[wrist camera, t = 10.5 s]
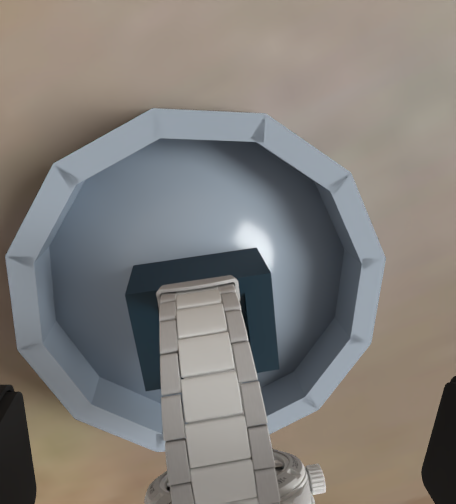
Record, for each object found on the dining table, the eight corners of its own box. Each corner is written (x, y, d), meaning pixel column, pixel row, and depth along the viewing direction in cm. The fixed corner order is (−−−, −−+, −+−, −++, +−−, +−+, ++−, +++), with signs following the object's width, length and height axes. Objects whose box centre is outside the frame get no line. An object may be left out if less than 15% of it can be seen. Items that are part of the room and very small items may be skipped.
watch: (157, 384, 21) (136, 662, 10) (125, 227, 18) (54, 388, 8) (270, 365, 21) (358, 616, 11) (254, 208, 18) (354, 339, 8)
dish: (15, 101, 17) (-16, 100, 14) (376, 118, 18) (409, 120, 16) (49, 414, 21) (31, 457, 19) (334, 404, 23) (353, 442, 21)
